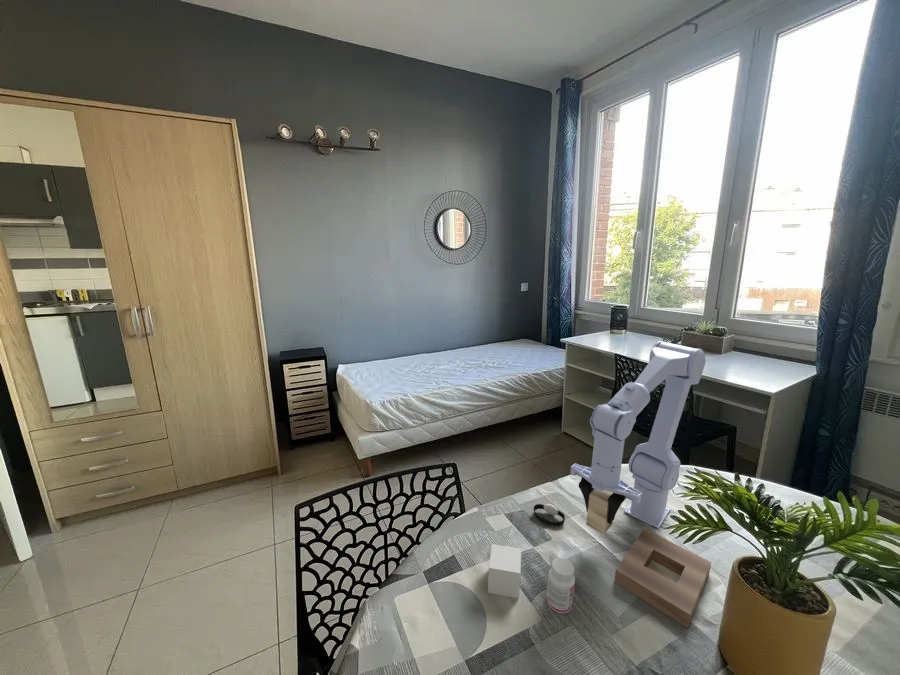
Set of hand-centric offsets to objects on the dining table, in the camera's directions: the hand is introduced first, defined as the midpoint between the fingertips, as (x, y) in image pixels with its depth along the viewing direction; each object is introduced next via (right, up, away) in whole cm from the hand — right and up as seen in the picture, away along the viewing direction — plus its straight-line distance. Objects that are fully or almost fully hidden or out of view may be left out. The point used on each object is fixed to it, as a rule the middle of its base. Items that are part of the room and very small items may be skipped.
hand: (600, 515), depth 82 cm
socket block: (+10, -10, -6) cm, 16 cm away
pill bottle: (-12, -11, -11) cm, 20 cm away
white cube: (-22, -10, -7) cm, 25 cm away
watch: (-9, -6, +11) cm, 15 cm away
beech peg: (0, -2, +1) cm, 2 cm away
